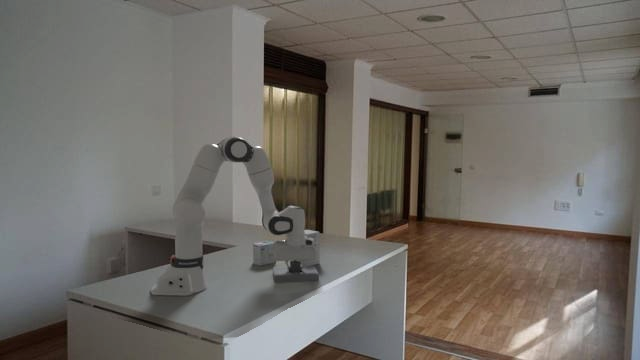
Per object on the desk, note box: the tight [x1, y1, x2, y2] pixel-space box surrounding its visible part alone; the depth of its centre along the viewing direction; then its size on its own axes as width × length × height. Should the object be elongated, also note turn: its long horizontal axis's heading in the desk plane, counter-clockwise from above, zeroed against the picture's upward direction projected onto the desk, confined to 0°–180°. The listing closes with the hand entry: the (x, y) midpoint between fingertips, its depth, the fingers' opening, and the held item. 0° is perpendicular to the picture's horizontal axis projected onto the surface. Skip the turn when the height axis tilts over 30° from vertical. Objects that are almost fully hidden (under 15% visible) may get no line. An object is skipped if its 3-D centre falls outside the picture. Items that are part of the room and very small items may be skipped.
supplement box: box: [300, 229, 321, 266], centre depth 231 cm, size 10×9×17 cm
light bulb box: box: [252, 240, 277, 267], centre depth 232 cm, size 11×7×11 cm, turn 134°
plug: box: [289, 260, 301, 273], centre depth 208 cm, size 4×4×8 cm
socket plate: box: [272, 265, 320, 283], centre depth 209 cm, size 20×14×3 cm
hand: (295, 269), depth 208 cm, fingers closed on plug, 4 cm apart
